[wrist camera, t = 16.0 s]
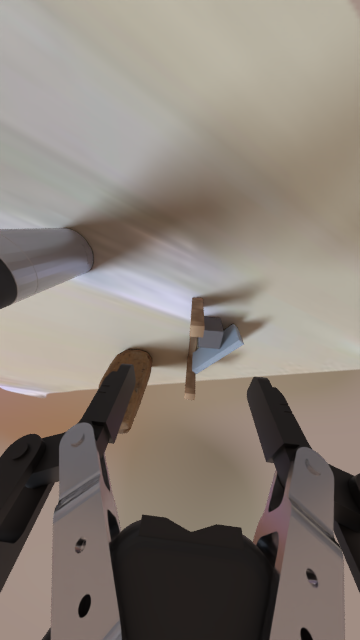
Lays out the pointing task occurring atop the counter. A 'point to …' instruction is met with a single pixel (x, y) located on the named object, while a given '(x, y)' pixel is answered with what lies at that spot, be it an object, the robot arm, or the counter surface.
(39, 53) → the counter surface
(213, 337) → the gray rectangular block
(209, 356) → the door
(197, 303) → the frame
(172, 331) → the counter surface
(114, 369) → the brown bread loaf
